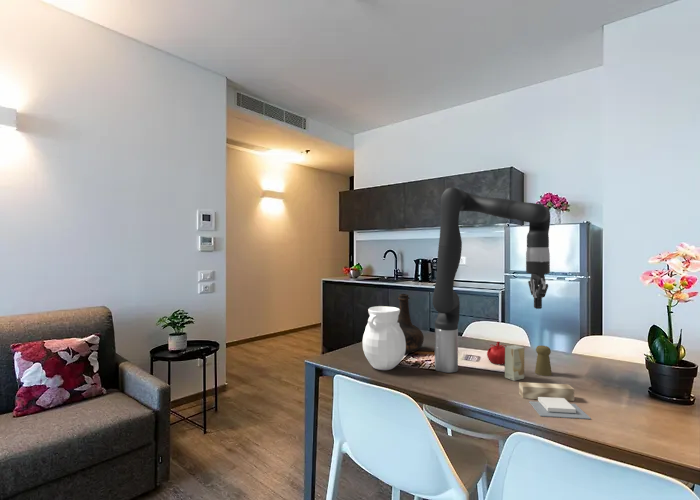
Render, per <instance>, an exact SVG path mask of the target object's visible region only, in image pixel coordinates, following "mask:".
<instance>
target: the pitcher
mask: <svg viewBox="0 0 700 500" xmlns="http://www.w3.org/2000/svg"><path fill="white" fill-rule="evenodd" d="M367 310H368V311H367V312H368V315H369V317H368V319H367V324H366V326H365V330H364V333H363V335H362V341H361V342H362V350H363V353H364V356H365V358H366V359H367V361H368V363H369V364H370V366H371V367H373V369H376V370H380V371H389V370H392V369H394V368H396V367H397V365H399V364H400V363H401V361H402V360H403V359H404V357H405V354H406V353H405V351H406V342H405V336H404V333H403V331H402V329H401V328H400V324H399V323H398V318H399V313H400V309H399V307H395V306H384V305H378V306H377V305H376V306H371V307H369V308H368V309H367Z"/></svg>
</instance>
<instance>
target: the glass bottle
mask: <svg viewBox="0 0 700 500" xmlns="http://www.w3.org/2000/svg"><path fill="white" fill-rule="evenodd" d="M398 296H399V297H398V298H397V299H398V300H399V303H398V305H399V307H398V308H399V309H400V313H399V315H398V321H397V323H399V324H400V328H401V329H402V331H403V333H404V336H405V342H406V351H405V354H410V353H414V352H417V351H418V350H420V348H421V347H422V346H423V343H424V341H425V339H424V338H425V337H424V333H423V331H422V330H421V329H420V328H419V327H417V326H416V325H415V324H413V322H412V319H411V315H410V308H409V307H410V305H409V299H410V297H409V294H407V293H401V294H400V293H399V294H398Z"/></svg>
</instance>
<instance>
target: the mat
mask: <svg viewBox="0 0 700 500" xmlns="http://www.w3.org/2000/svg"><path fill="white" fill-rule="evenodd" d="M528 402H529V404H530V405H531V406H532V407H533V409H534V411H536V413H537V414H538V415H539V416H540V417H544V418H545V417H546V418H560V417H561V418H560V419H563V418H564V419H575V418H579V420H592V418H591V417H590V416H589V415H588V414H587V413H586V412H585V411H583V410H582V409H581V408H580V407H579V406H578V405H577V404H576V403H570V402H569V403H570V404H571V405H572V406H573V407H574V408H575V409H576V413H561V412H548V411H547V410H546V409H545V408H544V407H543V406H542V404H541V403H540V402H539V401H531V400H529V401H528Z"/></svg>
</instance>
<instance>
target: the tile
mask: <svg viewBox="0 0 700 500" xmlns="http://www.w3.org/2000/svg"><path fill="white" fill-rule="evenodd" d="M537 402H540V403H541V404H542V406H543V407H544V408H545V409H546V410H547V411H548V412H561V413H576V409H575V408H574V407H573V406H572V405H571V404H572V403H571V404H570V401H567V400H566V399H565V398H551V397H538V399H537Z"/></svg>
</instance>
